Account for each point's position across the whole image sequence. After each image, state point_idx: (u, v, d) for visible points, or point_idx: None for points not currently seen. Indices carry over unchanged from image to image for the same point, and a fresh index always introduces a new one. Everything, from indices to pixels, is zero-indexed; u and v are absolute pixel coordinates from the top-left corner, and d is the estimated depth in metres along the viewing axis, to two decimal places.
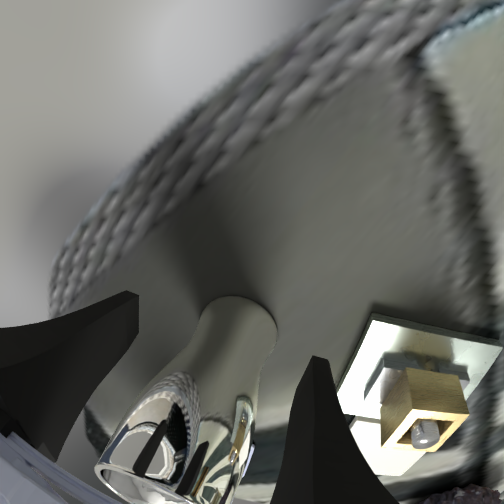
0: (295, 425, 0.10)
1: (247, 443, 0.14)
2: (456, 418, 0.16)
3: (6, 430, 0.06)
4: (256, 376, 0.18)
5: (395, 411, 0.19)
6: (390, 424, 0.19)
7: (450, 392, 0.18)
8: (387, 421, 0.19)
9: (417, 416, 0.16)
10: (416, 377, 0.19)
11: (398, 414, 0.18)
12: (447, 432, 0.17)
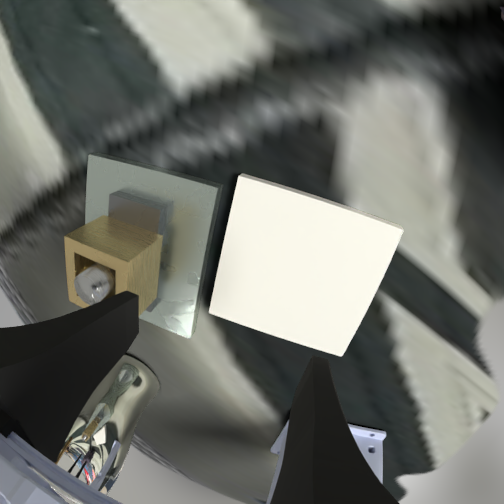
0: (295, 425, 0.10)
1: None
2: (70, 251, 0.17)
3: (6, 430, 0.06)
4: (92, 394, 0.23)
5: None
6: None
7: None
8: None
9: (75, 295, 0.18)
10: None
11: None
12: (89, 255, 0.17)
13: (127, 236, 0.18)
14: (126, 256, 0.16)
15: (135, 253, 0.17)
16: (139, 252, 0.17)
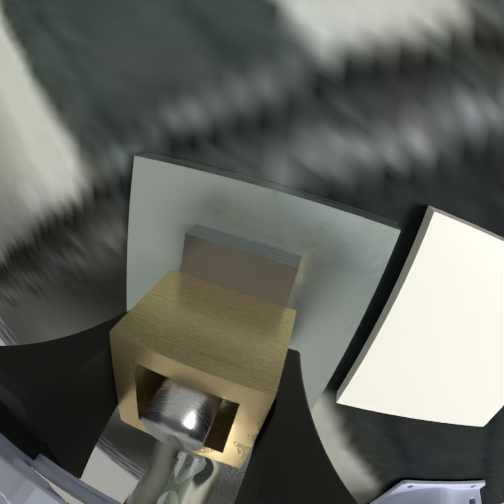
0: None
1: None
2: (125, 359, 0.08)
3: (6, 430, 0.06)
4: (148, 492, 0.15)
5: None
6: None
7: None
8: None
9: (135, 417, 0.10)
10: None
11: None
12: (175, 374, 0.08)
13: (238, 321, 0.10)
14: (264, 378, 0.08)
15: (276, 366, 0.08)
16: (281, 361, 0.09)
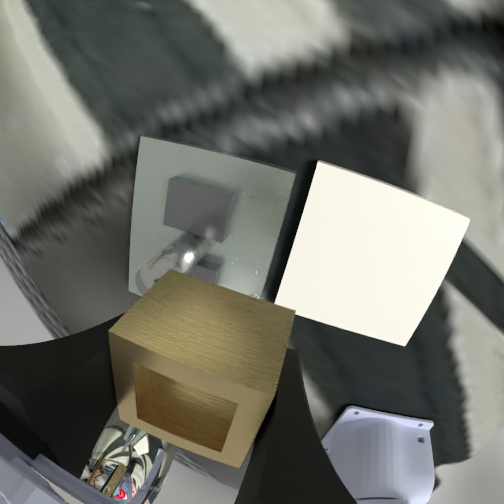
0: None
1: (103, 434, 0.18)
2: (124, 358, 0.08)
3: (6, 430, 0.06)
4: None
5: None
6: None
7: None
8: None
9: (134, 417, 0.10)
10: None
11: None
12: (173, 373, 0.08)
13: (237, 321, 0.10)
14: (263, 378, 0.08)
15: (275, 366, 0.08)
16: (280, 361, 0.09)
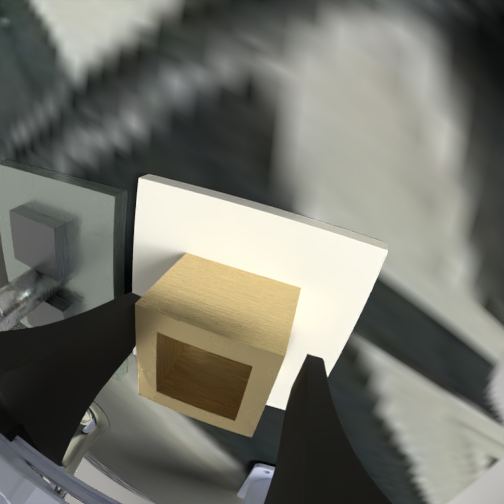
0: (289, 424, 0.10)
1: None
2: (148, 329, 0.10)
3: (6, 430, 0.06)
4: None
5: None
6: None
7: None
8: None
9: (153, 390, 0.11)
10: None
11: None
12: (194, 340, 0.09)
13: (250, 295, 0.11)
14: (274, 342, 0.09)
15: (284, 332, 0.10)
16: (288, 328, 0.10)
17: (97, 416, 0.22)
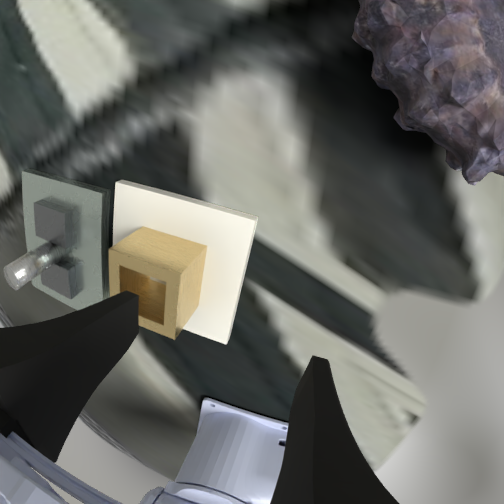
0: (295, 425, 0.10)
1: None
2: (115, 264, 0.18)
3: (6, 430, 0.06)
4: None
5: None
6: None
7: None
8: None
9: None
10: None
11: None
12: (137, 268, 0.17)
13: (173, 247, 0.19)
14: (177, 268, 0.17)
15: (185, 264, 0.18)
16: (188, 263, 0.18)
17: None
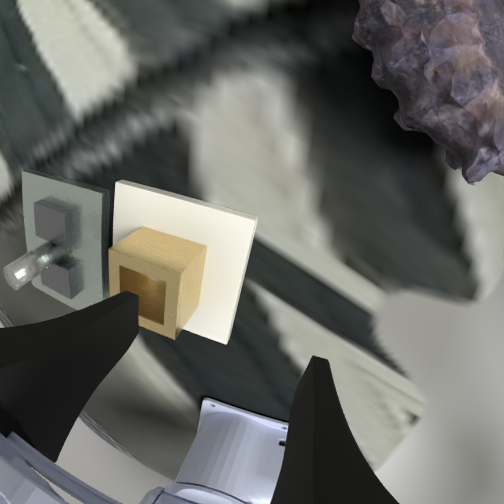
0: (295, 425, 0.10)
1: None
2: (115, 264, 0.18)
3: (6, 430, 0.06)
4: None
5: None
6: None
7: None
8: None
9: None
10: None
11: None
12: (137, 268, 0.17)
13: (173, 247, 0.19)
14: (177, 268, 0.17)
15: (185, 264, 0.18)
16: (188, 263, 0.18)
17: None
